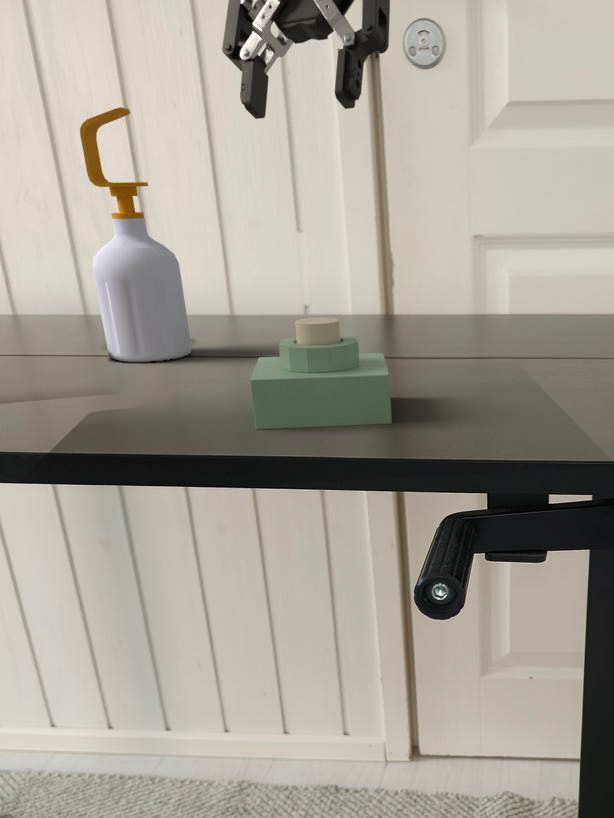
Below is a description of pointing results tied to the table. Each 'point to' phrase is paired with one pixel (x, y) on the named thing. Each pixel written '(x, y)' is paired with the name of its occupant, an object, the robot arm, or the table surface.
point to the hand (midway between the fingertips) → (298, 108)
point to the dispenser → (320, 386)
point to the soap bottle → (135, 273)
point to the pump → (317, 331)
